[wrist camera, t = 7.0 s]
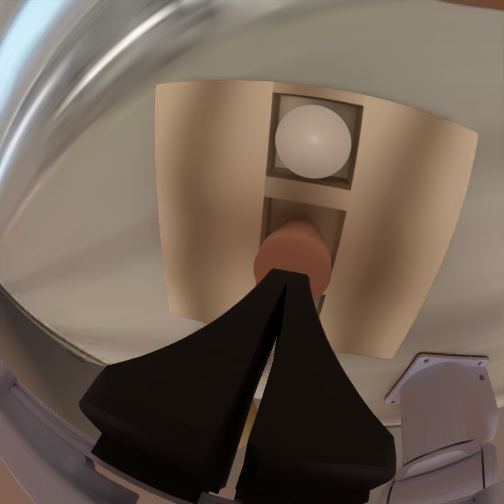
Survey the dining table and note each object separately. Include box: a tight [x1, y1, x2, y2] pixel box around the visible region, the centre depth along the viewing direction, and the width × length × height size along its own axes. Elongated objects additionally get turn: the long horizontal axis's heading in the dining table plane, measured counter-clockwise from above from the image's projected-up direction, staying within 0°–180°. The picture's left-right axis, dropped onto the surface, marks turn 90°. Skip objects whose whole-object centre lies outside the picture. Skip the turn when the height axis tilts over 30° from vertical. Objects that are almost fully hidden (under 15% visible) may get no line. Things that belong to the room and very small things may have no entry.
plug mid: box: [253, 220, 331, 300], centre depth 12 cm, size 3×3×3 cm
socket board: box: [155, 80, 478, 359], centre depth 15 cm, size 16×15×3 cm
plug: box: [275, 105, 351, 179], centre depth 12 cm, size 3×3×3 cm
